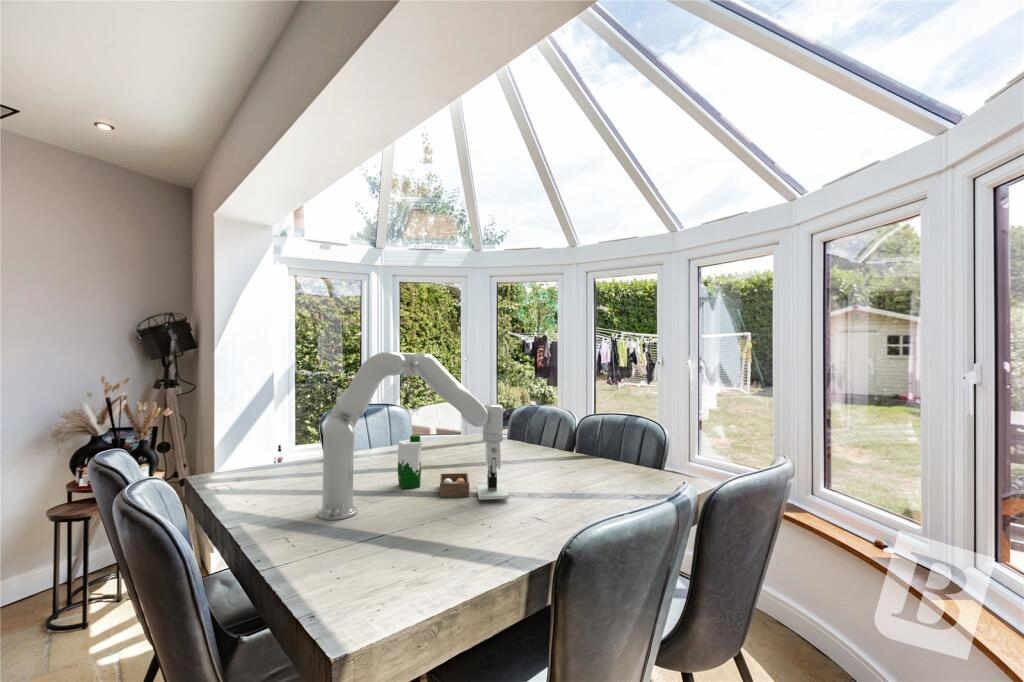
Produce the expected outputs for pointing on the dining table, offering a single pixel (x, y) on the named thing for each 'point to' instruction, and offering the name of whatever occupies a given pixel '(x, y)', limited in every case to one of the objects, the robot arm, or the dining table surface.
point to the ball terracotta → (460, 480)
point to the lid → (492, 491)
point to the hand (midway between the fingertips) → (492, 485)
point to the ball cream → (447, 481)
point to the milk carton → (409, 462)
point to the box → (454, 485)
